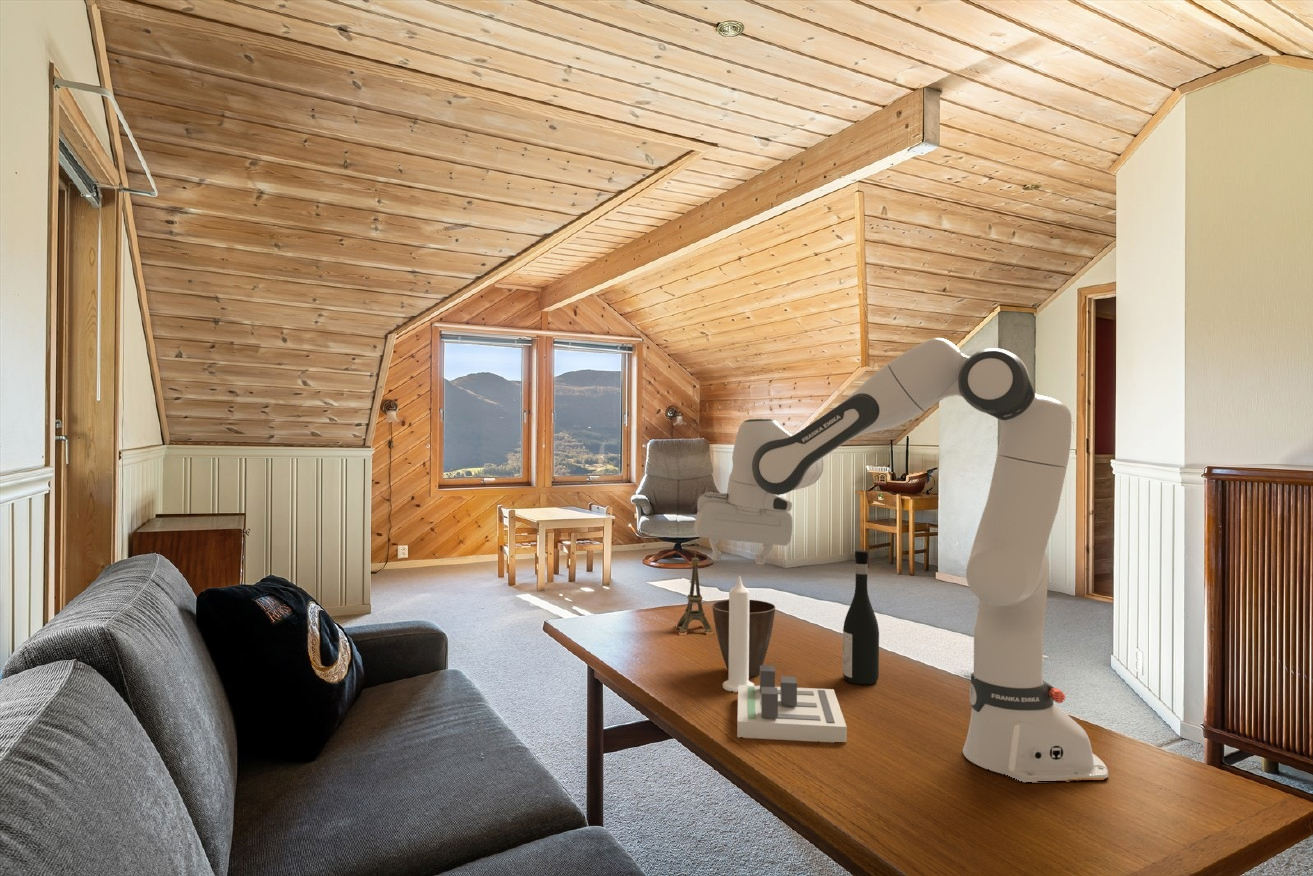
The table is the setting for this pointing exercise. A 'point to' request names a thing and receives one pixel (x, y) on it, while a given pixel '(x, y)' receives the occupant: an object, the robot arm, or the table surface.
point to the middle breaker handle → (788, 691)
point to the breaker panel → (792, 716)
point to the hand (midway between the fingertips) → (738, 561)
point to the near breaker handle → (769, 702)
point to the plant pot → (758, 631)
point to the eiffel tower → (690, 613)
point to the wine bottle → (861, 631)
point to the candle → (738, 638)
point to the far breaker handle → (767, 676)
